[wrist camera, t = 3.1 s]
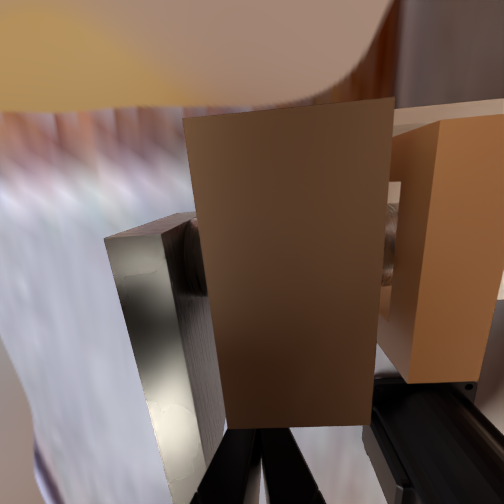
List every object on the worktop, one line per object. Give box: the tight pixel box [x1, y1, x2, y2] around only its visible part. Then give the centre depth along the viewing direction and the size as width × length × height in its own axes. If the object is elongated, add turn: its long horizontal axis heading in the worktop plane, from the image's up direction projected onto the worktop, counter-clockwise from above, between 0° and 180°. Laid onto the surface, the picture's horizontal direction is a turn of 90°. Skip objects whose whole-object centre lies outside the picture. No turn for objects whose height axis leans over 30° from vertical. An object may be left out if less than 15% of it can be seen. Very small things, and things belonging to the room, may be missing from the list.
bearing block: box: [182, 97, 395, 429], centre depth 8 cm, size 3×6×9 cm, turn 5°
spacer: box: [377, 114, 504, 384], centre depth 7 cm, size 2×6×6 cm, turn 5°
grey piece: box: [104, 202, 399, 504], centre depth 8 cm, size 9×8×4 cm
